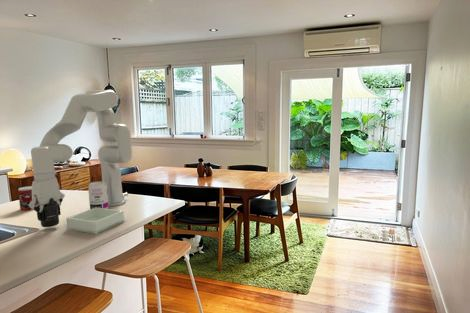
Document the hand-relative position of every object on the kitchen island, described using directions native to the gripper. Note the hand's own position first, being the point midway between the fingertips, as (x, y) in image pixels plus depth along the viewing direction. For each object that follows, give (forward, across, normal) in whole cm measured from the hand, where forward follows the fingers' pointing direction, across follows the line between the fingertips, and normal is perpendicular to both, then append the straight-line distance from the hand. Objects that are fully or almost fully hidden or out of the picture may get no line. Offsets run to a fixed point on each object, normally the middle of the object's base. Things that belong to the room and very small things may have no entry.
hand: (49, 217), depth 137 cm
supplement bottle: (+4, 0, 0) cm, 4 cm away
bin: (+5, -9, +16) cm, 19 cm away
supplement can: (+6, -23, +4) cm, 24 cm away
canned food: (+6, -17, -37) cm, 41 cm away
